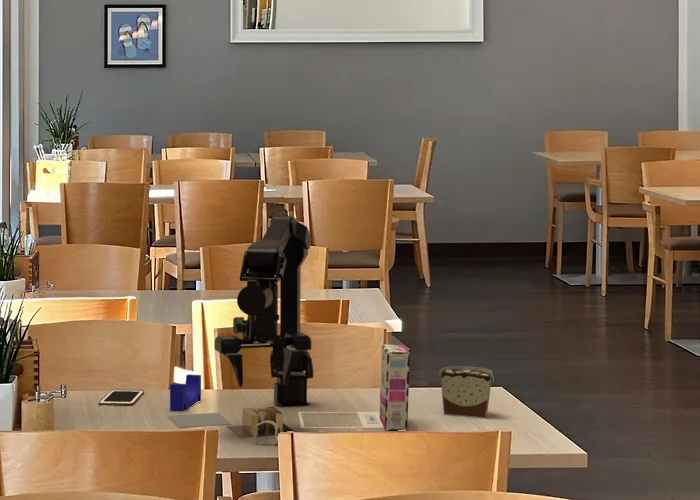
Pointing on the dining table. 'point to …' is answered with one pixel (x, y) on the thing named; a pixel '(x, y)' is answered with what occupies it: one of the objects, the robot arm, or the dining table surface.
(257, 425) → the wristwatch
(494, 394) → the dining table surface
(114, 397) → the cell phone
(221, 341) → the robot arm
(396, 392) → the candy bar box
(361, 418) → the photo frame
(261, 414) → the stand
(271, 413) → the tan wooden block
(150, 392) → the dining table surface
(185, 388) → the blue arch block
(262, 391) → the dining table surface
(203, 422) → the coaster
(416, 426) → the dining table surface
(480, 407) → the food container
